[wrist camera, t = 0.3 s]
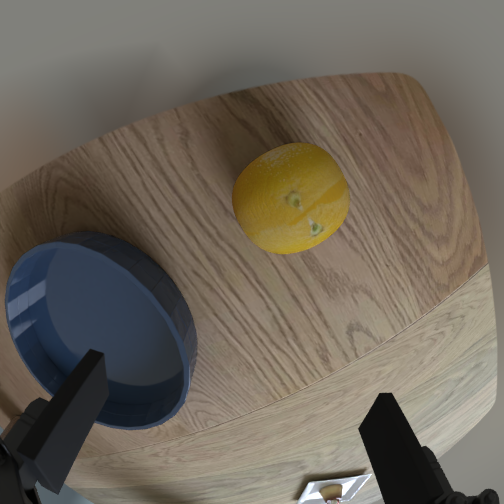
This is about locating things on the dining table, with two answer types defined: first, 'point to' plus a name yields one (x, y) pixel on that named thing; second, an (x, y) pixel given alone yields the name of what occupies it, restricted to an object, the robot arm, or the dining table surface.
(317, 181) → the fruit
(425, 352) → the dining table surface
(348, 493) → the dessert
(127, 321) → the bowl
